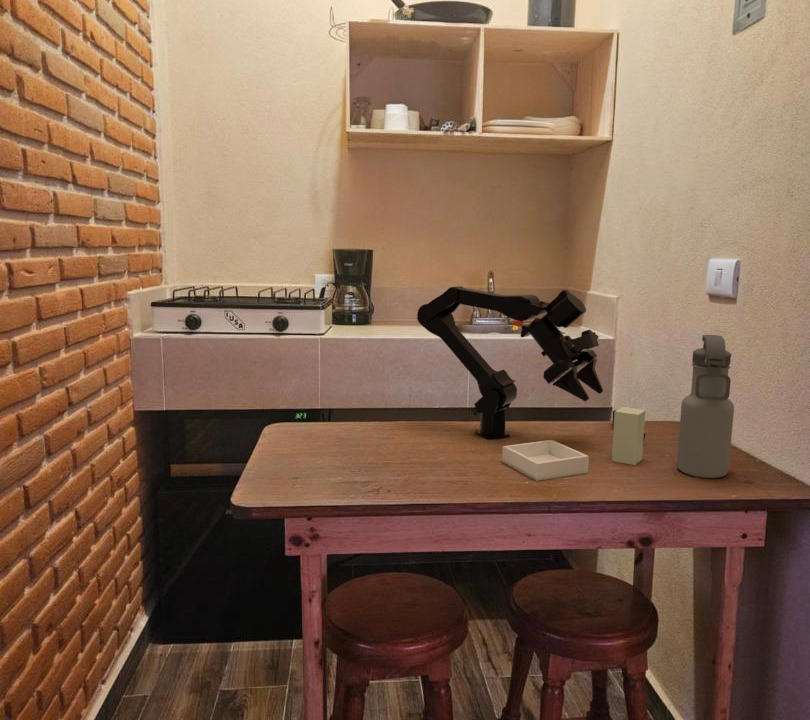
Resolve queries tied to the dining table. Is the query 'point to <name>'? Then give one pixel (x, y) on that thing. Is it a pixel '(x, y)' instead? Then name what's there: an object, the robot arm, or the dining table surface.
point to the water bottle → (707, 413)
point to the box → (545, 460)
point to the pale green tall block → (628, 435)
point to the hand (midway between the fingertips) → (594, 396)
